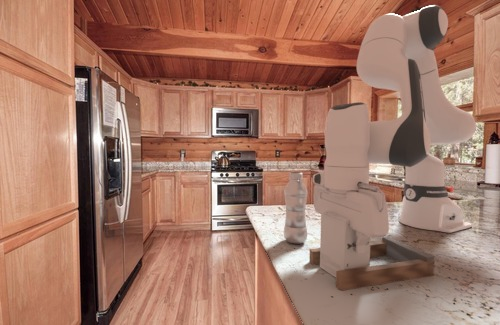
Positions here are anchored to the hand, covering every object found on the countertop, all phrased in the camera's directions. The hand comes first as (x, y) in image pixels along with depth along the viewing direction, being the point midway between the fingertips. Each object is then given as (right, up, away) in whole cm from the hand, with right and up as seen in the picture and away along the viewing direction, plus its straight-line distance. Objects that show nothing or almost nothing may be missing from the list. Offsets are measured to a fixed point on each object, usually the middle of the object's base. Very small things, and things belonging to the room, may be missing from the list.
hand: (344, 243), depth 52 cm
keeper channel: (+6, -6, +2) cm, 9 cm away
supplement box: (0, -6, 0) cm, 6 cm away
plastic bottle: (-7, -6, +17) cm, 19 cm away
